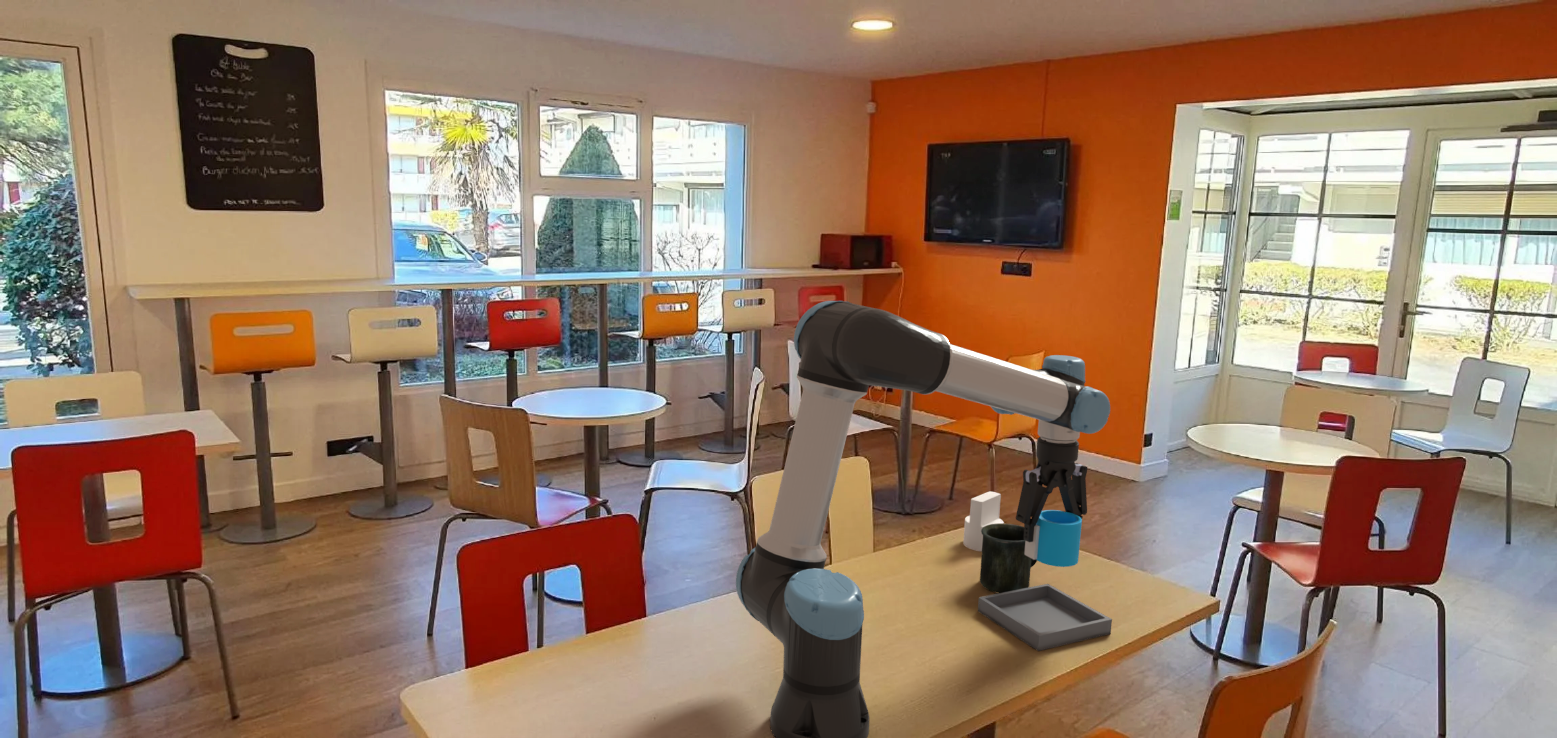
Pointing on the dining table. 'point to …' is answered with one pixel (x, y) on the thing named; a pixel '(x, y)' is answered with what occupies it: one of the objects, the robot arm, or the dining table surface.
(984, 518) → the base with upright slab
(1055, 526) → the mug
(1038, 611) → the tray
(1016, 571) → the mug
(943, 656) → the dining table surface
